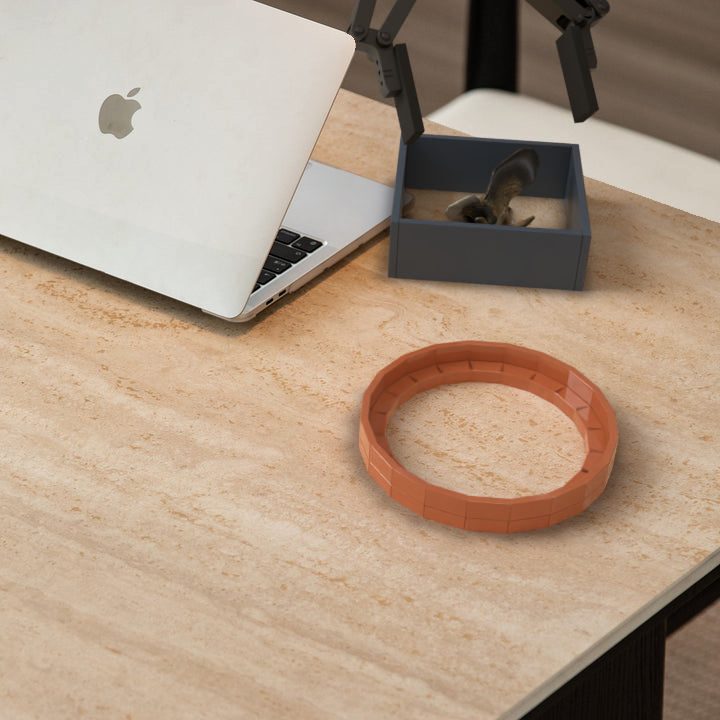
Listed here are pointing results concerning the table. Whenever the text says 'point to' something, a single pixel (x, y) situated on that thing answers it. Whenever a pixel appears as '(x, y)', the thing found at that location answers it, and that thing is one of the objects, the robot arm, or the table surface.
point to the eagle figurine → (500, 191)
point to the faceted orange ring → (500, 368)
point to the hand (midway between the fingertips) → (502, 127)
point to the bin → (484, 241)
